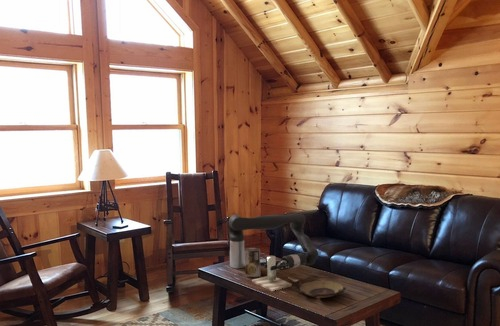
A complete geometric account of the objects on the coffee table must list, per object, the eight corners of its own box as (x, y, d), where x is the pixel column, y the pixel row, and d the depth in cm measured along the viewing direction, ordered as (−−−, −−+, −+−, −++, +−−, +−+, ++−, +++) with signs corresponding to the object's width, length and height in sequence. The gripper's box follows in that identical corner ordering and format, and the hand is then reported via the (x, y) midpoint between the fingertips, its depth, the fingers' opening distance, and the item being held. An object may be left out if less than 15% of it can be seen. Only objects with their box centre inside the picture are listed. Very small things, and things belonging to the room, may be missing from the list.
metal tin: (265, 279, 247) (265, 256, 246) (272, 277, 250) (272, 255, 249) (270, 281, 243) (270, 258, 242) (277, 279, 246) (277, 257, 245)
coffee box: (260, 273, 265) (260, 247, 264) (260, 277, 259) (259, 250, 258) (246, 273, 266) (245, 247, 265) (244, 276, 260) (244, 250, 259)
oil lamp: (329, 308, 212) (329, 293, 211) (282, 293, 233) (282, 279, 232) (353, 295, 228) (353, 281, 227) (307, 282, 249) (307, 269, 248)
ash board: (251, 281, 250) (251, 279, 250) (271, 277, 258) (270, 275, 258) (272, 291, 235) (272, 289, 235) (291, 285, 243) (291, 283, 243)
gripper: (282, 252, 260) (260, 258, 250) (298, 258, 248) (275, 263, 238) (283, 264, 260) (260, 270, 250) (298, 271, 249) (275, 277, 239)
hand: (267, 267), depth 244 cm, fingers closed on metal tin, 5 cm apart
